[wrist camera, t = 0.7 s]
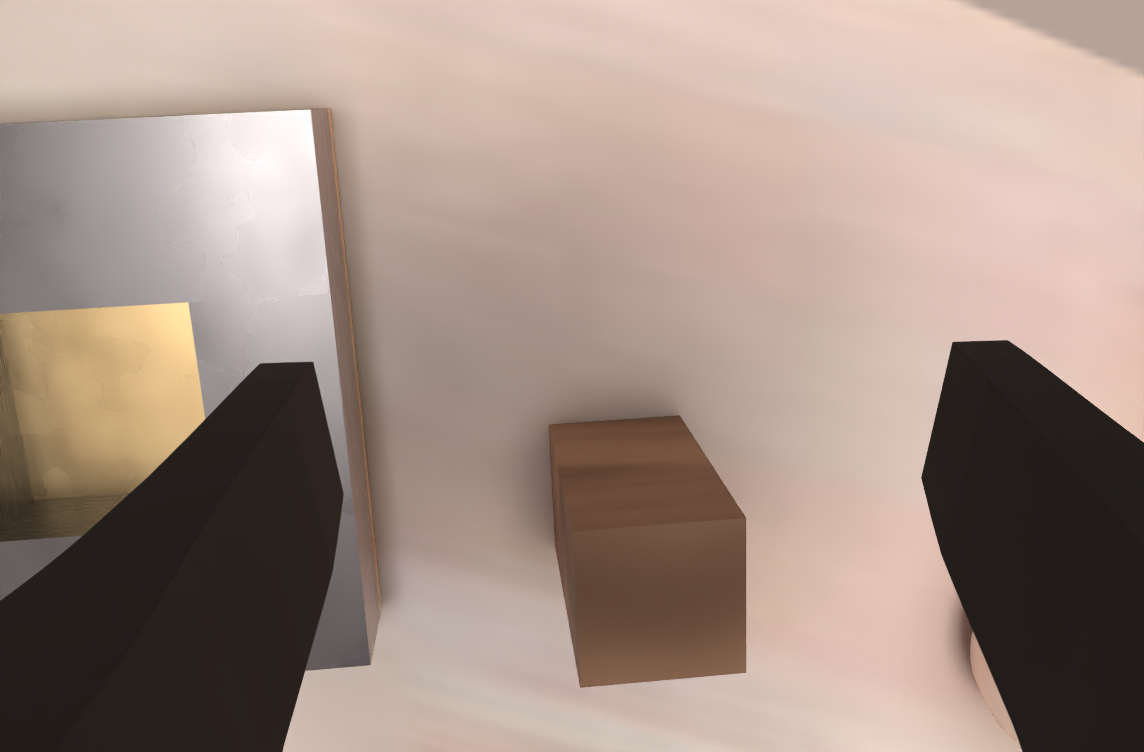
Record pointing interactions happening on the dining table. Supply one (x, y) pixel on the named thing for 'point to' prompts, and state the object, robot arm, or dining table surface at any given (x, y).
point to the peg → (647, 553)
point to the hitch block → (169, 321)
